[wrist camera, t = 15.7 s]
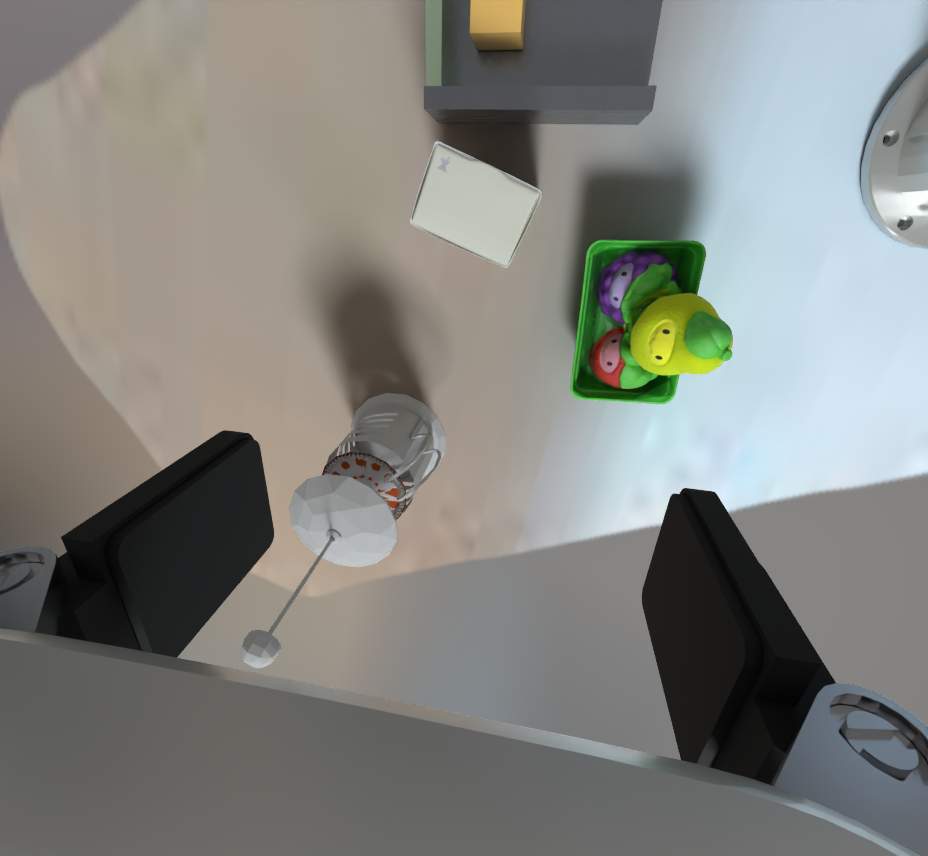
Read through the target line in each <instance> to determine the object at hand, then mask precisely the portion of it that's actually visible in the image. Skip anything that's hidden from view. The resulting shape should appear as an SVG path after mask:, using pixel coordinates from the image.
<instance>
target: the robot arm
mask: <svg viewBox="0 0 928 856" xmlns="http://www.w3.org/2000/svg"><path fill="white" fill-rule="evenodd" d="M884 137H885V142H884V143H883V138H884ZM861 190H862V196H863V201H864V205H865V207H866V209H867V211H868V213H869V215H870V218H871V219H872V221H873V222H874V223H875V224H876V225H877V226H878V228H879V229H880V230H881V231H882V232H883V233H885V234H886V235H888V236H889V237H891V238H892V239H894V240H895V241H898V242H900V243H903V244H906V245H909V246H911V247H918V248H926V249H928V58H927V59H926V60H924V61H923V62H922V63H921V64H920V65H919V66H918V67H917V68H916V69H915V70H914V71H913V72H912V73H911V74H910V75H909V76H908V77H907V78H906V79H905V80H904V81H903V83H902V84H901V85H900V87H899V88H898V89H897V90H896V92H895V93H894V94H893V96H892V97H891V98H890V99H889V101H888V102H887V104H886V105H885V107H884V109H883V111H882V112H881V114H880V116H879V118H878V119H877V121H876V123H875V125H874V127H873V130H872V132H871V135H870V137H869V139H868V142H867V144H866V148H865V152H864V157H863V161H862V166H861ZM898 222H899V224H898ZM897 225H898V226H897ZM61 538H62V541H63V543H64V545H65V548H66V550H67V552H66V553H65V554H64V555H62V556H60V557H59V558H58V557H57V555H56V553H55V552H54V551H52V550H51V549H50V548H46V547H42V546H26V547H20V548H14V549H9V550H6V551H3V552H0V856H928V727H926V726H925V725H924V724H923V723H922V722H921V721H920V720H918V718H916V717H915V716H914V715H913V714H911V713H910V712H908V711H907V710H905V709H904V708H902V707H901V706H899V705H898V704H897V703H895V702H893V701H892V700H890V699H888V698H886V697H883V696H882V695H880V694H878V693H876V692H874V691H871V690H868V689H865V688H862V687H859V686H856V685H852V684H842V683H835V681H834V679H833V678H832V676H831V675H830V673H829V671H828V670H827V668H826V666H825V665H824V663H823V662H822V660H821V659H820V657H819V655H818V654H817V652H816V651H815V649H814V647H813V646H812V644H811V642H810V641H809V639H808V638H807V636H806V635H805V633H804V631H803V630H802V628H801V626H800V625H799V623H798V622H797V620H796V618H795V617H794V615H793V614H792V612H791V610H790V609H789V607H788V606H787V604H786V602H785V601H784V599H783V598H782V596H781V595H780V593H779V591H778V590H777V588H776V587H775V585H774V583H773V582H772V580H771V578H770V577H769V575H768V574H767V572H766V571H765V569H764V568H763V567H762V565H760V563H759V562H758V561H757V559H756V557H755V556H754V554H753V552H752V551H751V549H750V548H749V546H748V544H747V543H746V541H745V539H744V538H743V536H742V535H741V533H740V531H739V530H738V528H737V526H736V525H735V523H734V522H733V520H732V518H731V517H730V515H729V514H728V512H727V510H726V509H725V507H724V505H723V504H722V502H721V501H720V499H719V497H718V496H717V494H716V493H715V492H712V491H704V490H696V489H688V488H684V489H682V491H681V492H680V494H672V496H671V497H670V500H669V503H668V506H667V510H666V513H665V516H664V520H663V523H662V526H661V530H660V533H659V536H658V540H657V543H656V546H655V550H654V553H653V556H652V560H651V563H650V567H649V570H648V573H647V577H646V580H645V583H644V587H643V591H642V605H643V609H644V614H645V618H646V622H647V625H648V630H649V634H650V637H651V642H652V645H653V650H654V654H655V658H656V662H657V666H658V670H659V673H660V678H661V681H662V685H663V689H664V693H665V697H666V701H667V705H668V709H669V713H670V717H671V721H672V725H673V729H674V733H675V737H676V741H677V745H678V749H679V753H680V757H681V760H677V759H673V758H667V757H663V756H659V755H654V754H650V753H645V752H640V751H636V750H632V749H627V748H623V747H618V746H613V745H609V744H605V743H600V742H595V741H591V740H587V739H582V738H577V737H572V736H567V735H563V734H558V733H552V732H548V731H543V730H538V729H533V728H528V727H523V726H518V725H514V724H508V723H504V722H498V721H494V720H489V719H484V718H479V717H474V716H469V715H465V714H460V713H454V712H450V711H445V710H440V709H435V708H429V707H425V706H420V705H415V704H410V703H405V702H400V701H395V700H390V699H385V698H380V697H375V696H370V695H365V694H360V693H355V692H350V691H345V690H340V689H334V688H330V687H324V686H319V685H314V684H309V683H304V682H299V681H294V680H289V679H284V678H279V677H274V676H269V675H263V674H258V673H253V672H248V671H242V670H238V669H233V668H227V667H222V666H217V665H211V664H206V663H201V662H196V661H190V660H185V659H180V658H177V657H178V655H180V653H181V652H182V651H183V650H184V648H185V647H186V646H187V645H188V644H189V643H190V641H191V640H192V639H193V638H194V637H195V635H196V634H197V633H198V632H199V631H200V629H201V628H202V627H203V626H204V625H205V623H206V622H207V621H208V620H209V619H210V617H211V616H212V615H213V614H214V613H215V612H216V610H217V609H218V608H219V607H220V606H221V604H222V603H223V602H224V601H225V600H226V598H227V597H228V596H229V595H230V594H231V592H232V591H233V590H234V589H235V588H236V586H237V585H238V584H239V583H240V582H241V580H242V579H243V578H244V577H245V576H246V574H247V573H248V572H249V571H250V570H251V569H252V567H253V566H254V565H255V564H256V563H257V561H258V560H259V559H260V558H261V557H262V555H263V554H264V553H265V552H266V551H267V549H268V548H269V547H270V545H271V543H272V541H273V538H274V528H273V522H272V516H271V510H270V504H269V499H268V493H267V487H266V481H265V475H264V469H263V463H262V457H261V451H260V446H259V443H258V442H257V441H256V440H254V439H253V437H252V436H251V435H250V434H249V433H242V432H234V431H222V432H220V433H218V434H217V435H215V436H214V437H212V438H210V439H209V440H207V441H206V442H204V443H203V444H201V445H200V446H198V447H197V448H195V449H194V450H192V451H191V452H189V453H188V454H186V455H185V456H183V457H182V458H180V459H179V460H177V461H176V462H174V463H173V464H171V465H170V466H168V467H167V468H165V469H164V470H162V471H160V472H159V473H157V474H156V475H154V476H153V477H152V478H150V479H148V480H147V481H145V482H144V483H142V484H141V485H139V486H138V487H136V488H135V489H133V490H132V491H130V492H129V493H127V494H126V495H124V496H123V497H121V498H120V499H118V500H117V501H115V502H114V503H112V504H111V505H109V506H107V507H106V508H104V509H103V510H101V511H100V512H98V513H97V514H95V515H94V516H92V517H91V518H89V519H88V520H86V521H85V522H83V523H82V524H80V525H79V526H77V527H76V528H74V529H73V530H71V531H70V532H68V533H67V534H65V535H63V536H62V537H61Z"/></svg>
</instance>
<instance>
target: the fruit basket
mask: <svg viewBox="0 0 928 856" xmlns="http://www.w3.org/2000/svg"><path fill="white" fill-rule="evenodd" d="M705 257H706V251H705V247H704V246H703V245H702V244H701V243H699V242H697V241H651V240H598V241H595V242H594V243H593V244H591V246H590V247H589V249H588V250H587V254H586V263H585V272H584V281H583V290H582V299H581V306H580V314H579V322H578V330H577V338H576V346H575V355H574V362H573V370H572V378H571V385H570V389H571V393H572V394H573V396H575V397H576V398H578V399H584V400H605V401H621V402H636V403H648V404H665V403H668V402H669V401H671V400H672V399H673V397H674V396H675V392H676V388H677V383H678V378H679V374H683V373H690V374H705V373H708V372H711V371H712V370H714V369H716V368H717V367H719V366H720V365H721V364H722V363H723V362H724V361H728V360H729V359H730V358H731V356H732V351H731V348H732V343H733V336H732V332H731V329H730V327H729V326H728V325H727V324H726V323H725V322H724V321H722V320H721V319H720V318H719V316H718V314H717V313H716V311H715V309H714V308H713V307H712V305H711V304H710V303H709V302H707V301H706V300H705V299H703V298H702V297H700V296H698V295H697V293H698V289H699V284H700V279H701V275H702V271H703V266H704V261H705Z"/></svg>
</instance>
